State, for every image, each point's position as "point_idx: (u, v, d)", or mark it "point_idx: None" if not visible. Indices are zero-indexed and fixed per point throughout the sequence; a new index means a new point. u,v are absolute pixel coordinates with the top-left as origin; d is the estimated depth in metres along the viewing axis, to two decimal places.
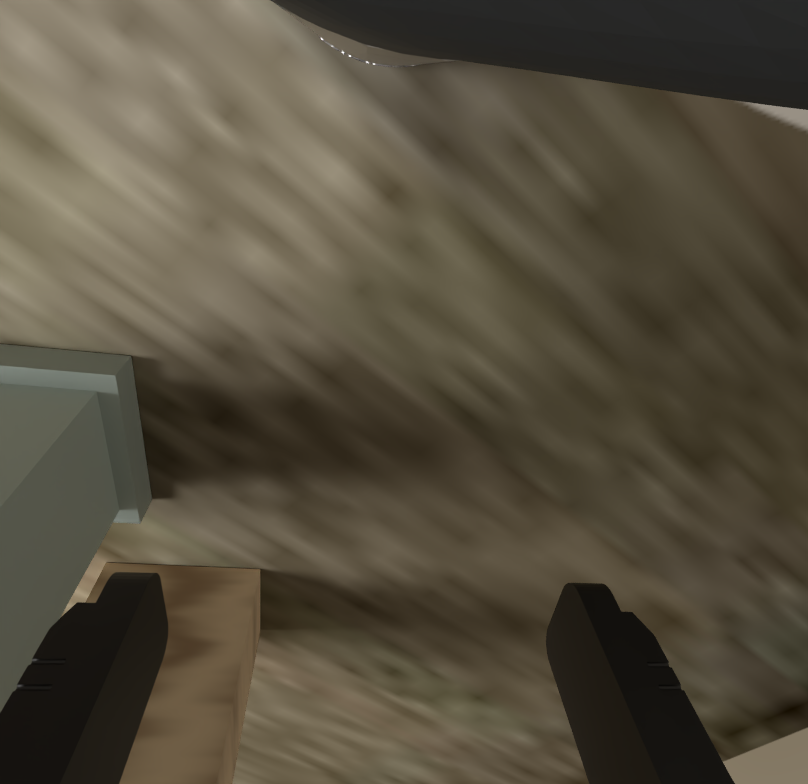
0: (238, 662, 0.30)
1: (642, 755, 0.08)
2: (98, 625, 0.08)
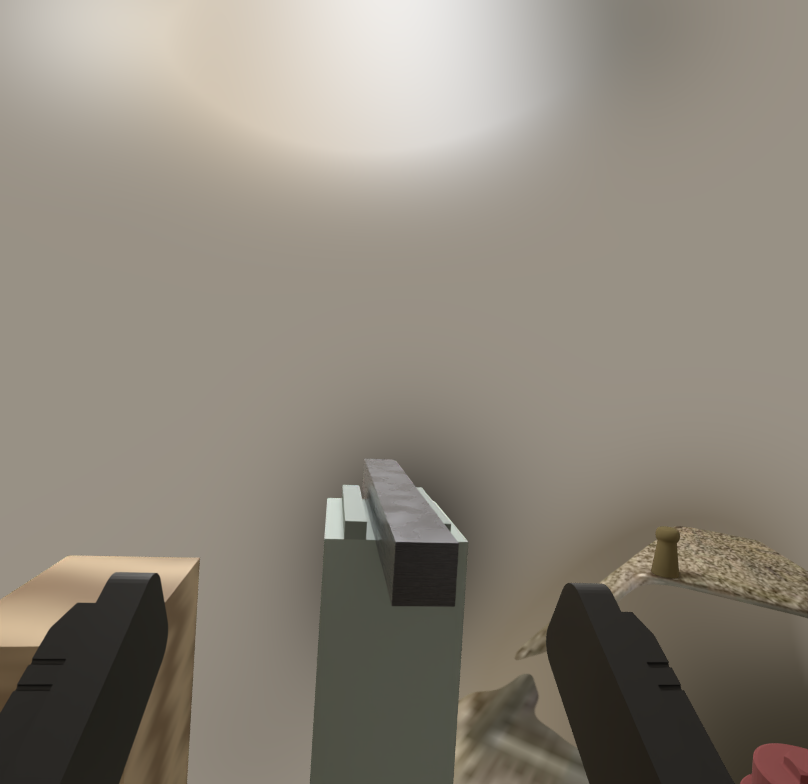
0: None
1: (642, 755, 0.08)
2: (98, 625, 0.08)
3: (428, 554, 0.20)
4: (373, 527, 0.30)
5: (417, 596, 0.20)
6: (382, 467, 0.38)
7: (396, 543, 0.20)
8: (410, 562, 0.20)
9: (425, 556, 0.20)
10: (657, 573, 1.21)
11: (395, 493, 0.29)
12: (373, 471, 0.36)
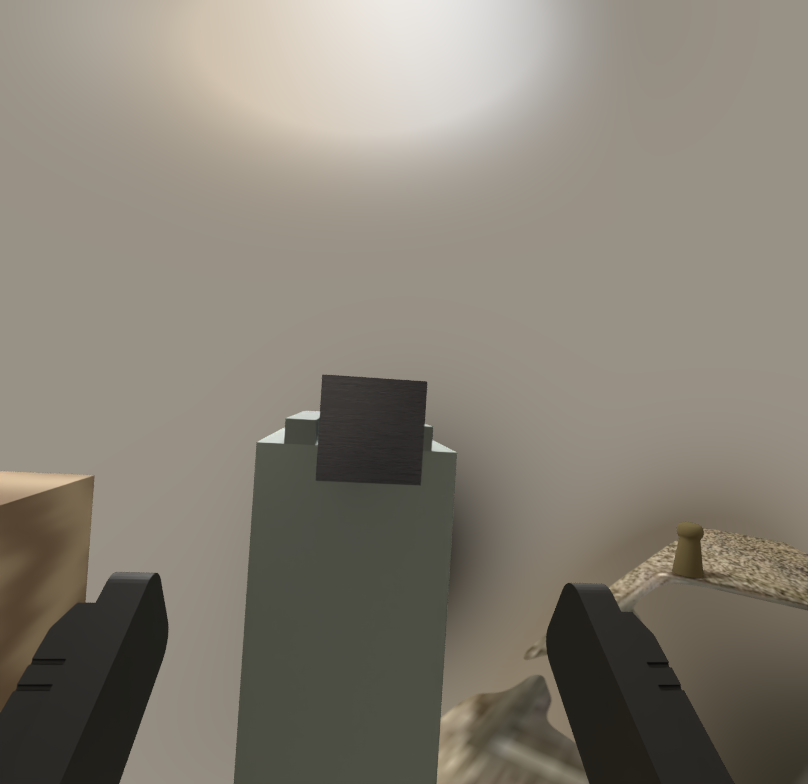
0: None
1: (642, 755, 0.08)
2: (98, 625, 0.08)
3: (376, 398, 0.12)
4: None
5: (357, 466, 0.12)
6: None
7: (324, 377, 0.12)
8: (347, 409, 0.12)
9: (372, 400, 0.12)
10: (679, 572, 1.12)
11: None
12: None
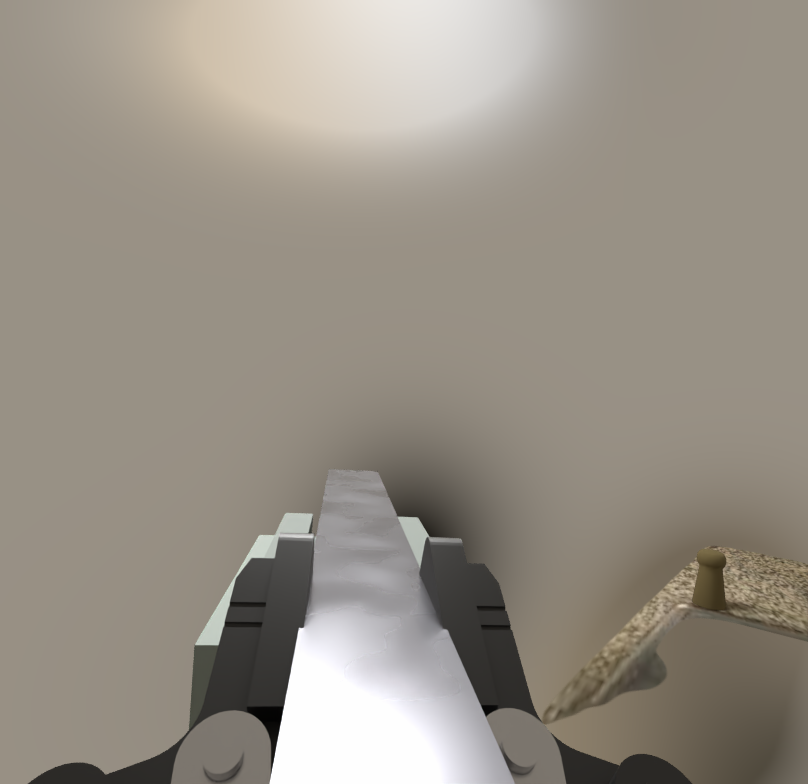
0: None
1: None
2: (284, 574, 0.09)
3: None
4: None
5: None
6: (351, 484, 0.23)
7: None
8: None
9: None
10: (700, 604, 1.05)
11: (354, 543, 0.14)
12: (332, 491, 0.21)
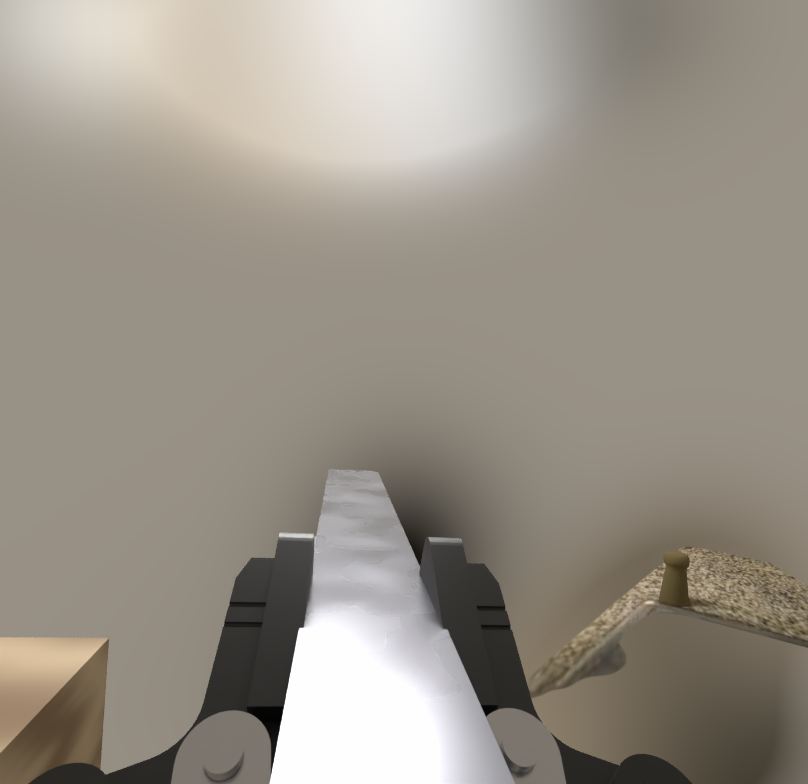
0: None
1: None
2: (283, 574, 0.09)
3: None
4: None
5: None
6: (351, 483, 0.23)
7: None
8: None
9: None
10: (666, 600, 1.15)
11: (354, 542, 0.14)
12: (332, 491, 0.21)
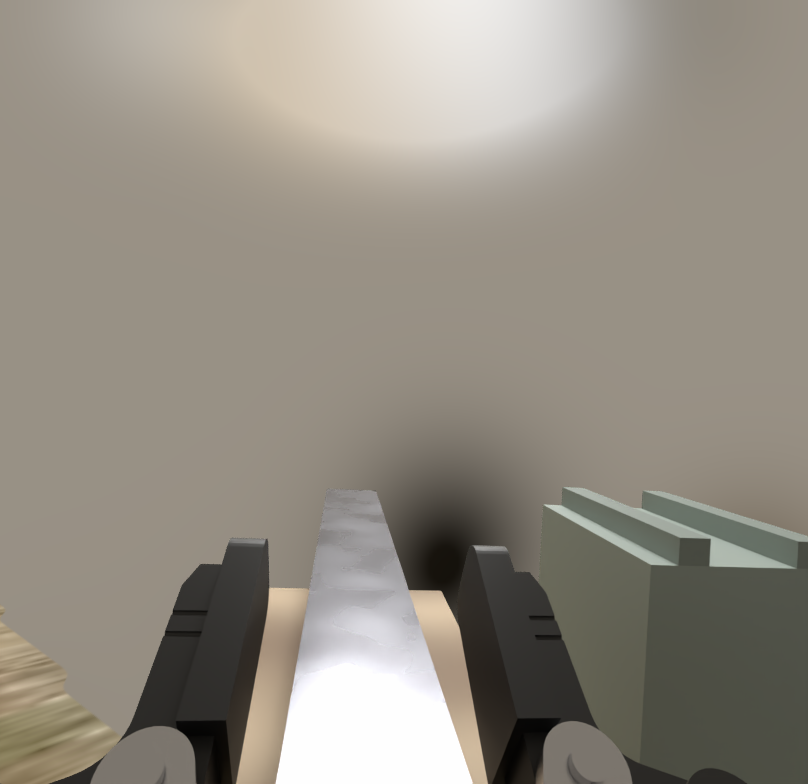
0: None
1: (507, 692, 0.08)
2: (229, 581, 0.09)
3: None
4: None
5: None
6: (349, 507, 0.22)
7: None
8: None
9: None
10: None
11: (350, 582, 0.14)
12: (329, 516, 0.20)
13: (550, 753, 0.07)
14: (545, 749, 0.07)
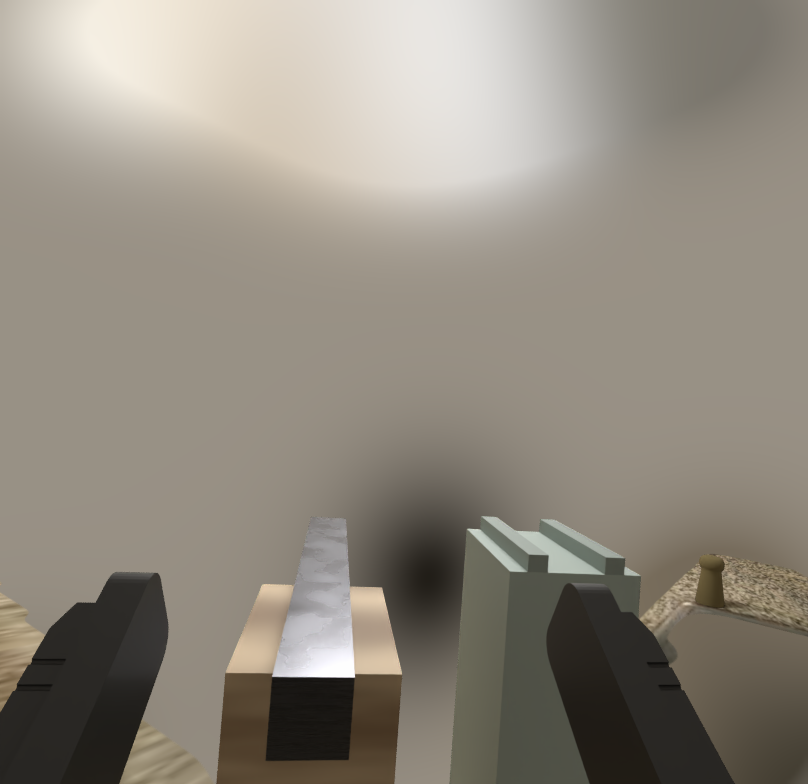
0: None
1: (642, 755, 0.08)
2: (98, 625, 0.08)
3: (314, 692, 0.16)
4: None
5: (299, 747, 0.16)
6: (324, 531, 0.33)
7: (273, 678, 0.16)
8: (290, 703, 0.16)
9: (311, 695, 0.16)
10: (702, 602, 1.21)
11: (317, 578, 0.25)
12: (310, 538, 0.32)
13: None
14: None
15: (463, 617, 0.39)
